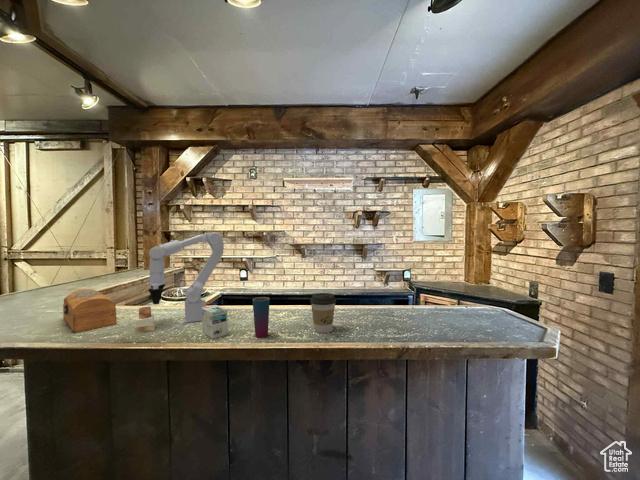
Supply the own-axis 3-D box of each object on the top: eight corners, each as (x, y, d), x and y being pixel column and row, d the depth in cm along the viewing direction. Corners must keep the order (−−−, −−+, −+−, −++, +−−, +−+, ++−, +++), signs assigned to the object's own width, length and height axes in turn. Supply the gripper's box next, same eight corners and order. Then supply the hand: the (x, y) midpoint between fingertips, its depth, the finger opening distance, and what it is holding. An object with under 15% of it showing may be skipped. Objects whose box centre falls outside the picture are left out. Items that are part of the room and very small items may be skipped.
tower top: (153, 321, 121) (153, 314, 120) (152, 325, 115) (152, 318, 115) (137, 323, 118) (137, 316, 118) (136, 327, 112) (135, 320, 112)
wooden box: (60, 320, 132) (59, 291, 132) (103, 312, 144) (102, 286, 144) (68, 335, 112) (67, 302, 112) (117, 324, 124) (116, 295, 124)
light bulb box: (228, 334, 111) (228, 308, 110) (212, 339, 106) (211, 312, 106) (217, 328, 118) (216, 304, 118) (201, 332, 113) (201, 307, 113)
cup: (266, 339, 105) (265, 301, 105) (250, 338, 107) (249, 300, 106) (272, 333, 112) (272, 297, 112) (257, 332, 113) (256, 296, 113)
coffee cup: (317, 337, 107) (317, 300, 107) (305, 328, 117) (305, 294, 117) (341, 332, 112) (341, 296, 112) (328, 324, 122) (328, 291, 122)
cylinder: (152, 315, 120) (151, 306, 119) (150, 317, 116) (149, 308, 115) (140, 316, 118) (140, 307, 118) (138, 319, 114) (137, 310, 114)
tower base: (155, 326, 122) (155, 320, 122) (154, 331, 116) (154, 324, 116) (137, 329, 119) (137, 322, 119) (134, 334, 112) (134, 327, 112)
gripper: (148, 271, 128) (148, 299, 128) (144, 275, 115) (144, 307, 115) (165, 270, 131) (165, 298, 131) (163, 274, 118) (163, 305, 118)
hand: (157, 302), depth 123 cm, fingers open, 7 cm apart
